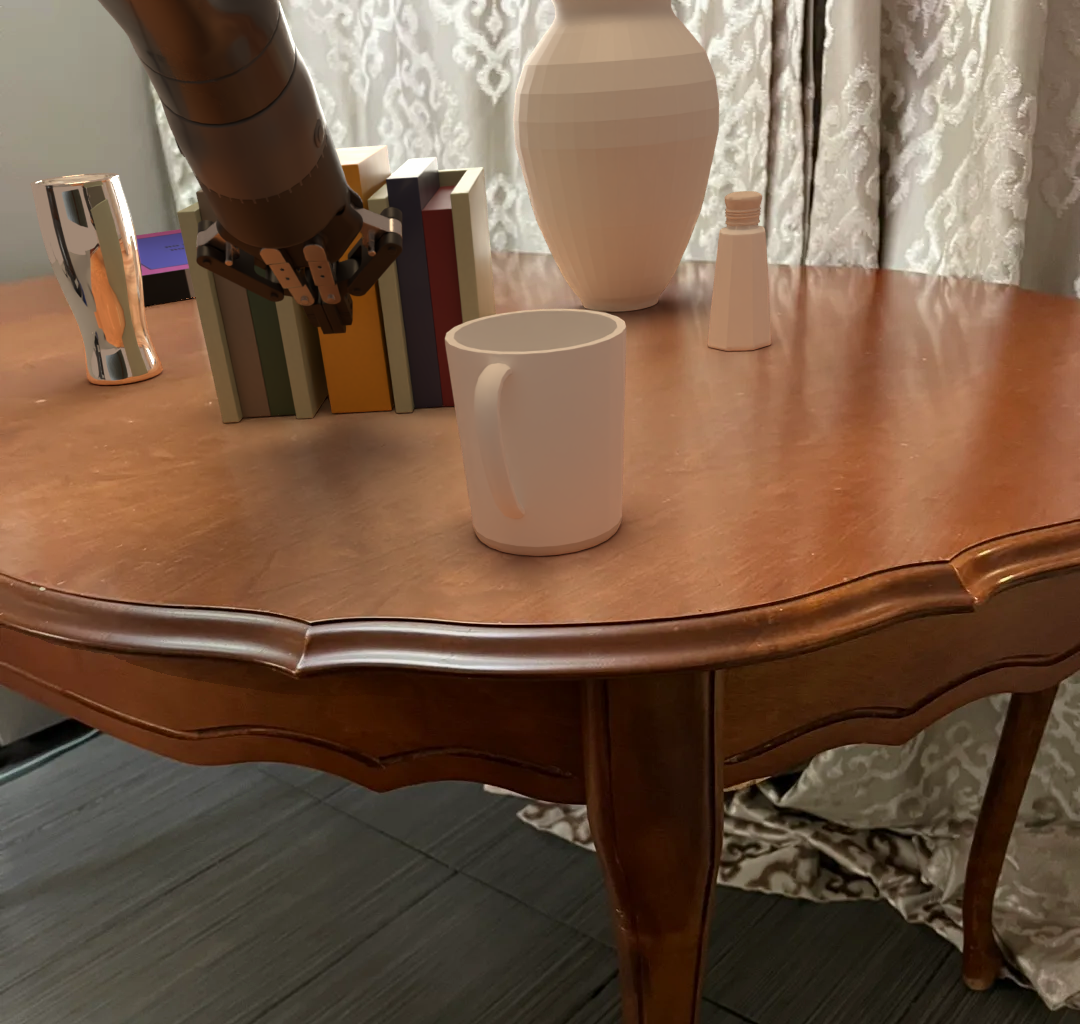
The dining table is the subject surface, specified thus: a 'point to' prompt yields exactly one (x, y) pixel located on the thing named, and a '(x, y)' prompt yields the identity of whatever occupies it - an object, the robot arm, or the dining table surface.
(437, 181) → the bookrack
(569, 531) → the mug
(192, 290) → the book
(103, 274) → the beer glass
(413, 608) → the dining table surface
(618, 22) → the vase
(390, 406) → the ochre book
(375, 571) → the dining table surface
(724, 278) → the pepper shaker
